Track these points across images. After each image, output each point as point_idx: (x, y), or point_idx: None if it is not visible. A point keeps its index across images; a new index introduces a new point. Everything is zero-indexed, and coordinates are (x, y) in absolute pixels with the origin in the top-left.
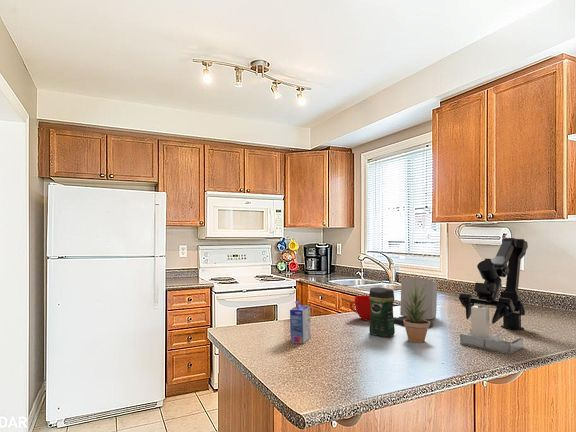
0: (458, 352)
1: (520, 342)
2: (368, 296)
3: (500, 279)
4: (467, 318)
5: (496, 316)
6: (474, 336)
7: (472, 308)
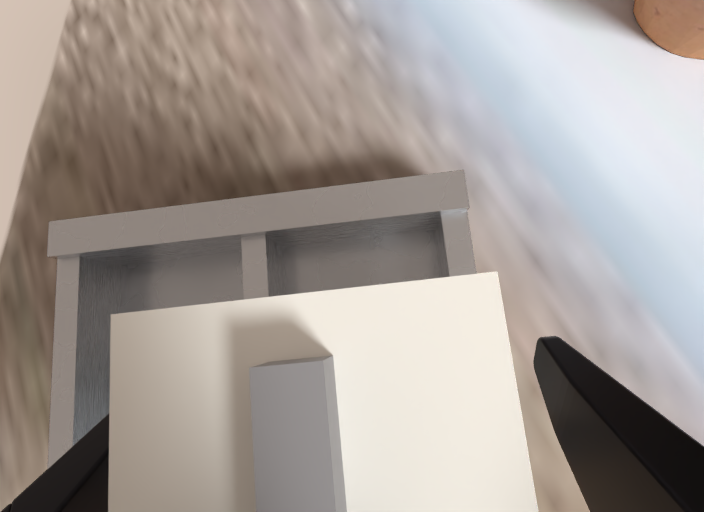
0: (338, 11)
1: None
2: None
3: None
4: (536, 345)
5: (59, 463)
6: (329, 186)
7: (447, 280)
